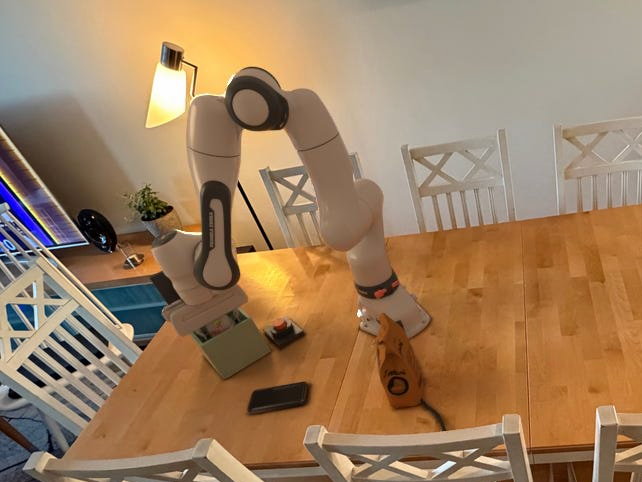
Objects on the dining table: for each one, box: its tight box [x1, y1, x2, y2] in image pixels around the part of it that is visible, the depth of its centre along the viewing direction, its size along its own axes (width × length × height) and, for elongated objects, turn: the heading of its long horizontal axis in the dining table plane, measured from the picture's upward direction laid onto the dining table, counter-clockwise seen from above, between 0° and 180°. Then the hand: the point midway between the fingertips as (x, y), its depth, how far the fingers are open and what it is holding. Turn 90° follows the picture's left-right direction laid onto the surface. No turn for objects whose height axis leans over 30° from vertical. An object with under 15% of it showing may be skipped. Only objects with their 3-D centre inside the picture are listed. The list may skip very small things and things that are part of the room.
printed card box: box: [205, 314, 237, 339], centre depth 142 cm, size 4×7×10 cm, turn 97°
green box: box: [188, 306, 272, 380], centre depth 146 cm, size 16×15×13 cm
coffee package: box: [375, 313, 425, 409], centre depth 122 cm, size 10×12×22 cm
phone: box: [246, 381, 309, 415], centre depth 133 cm, size 8×1×15 cm
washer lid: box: [148, 270, 181, 305], centre depth 140 cm, size 17×15×4 cm
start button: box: [272, 318, 287, 330], centre depth 151 cm, size 4×4×2 cm
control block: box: [262, 316, 305, 350], centre depth 153 cm, size 11×8×4 cm
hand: (222, 329), depth 142 cm, fingers closed on printed card box, 7 cm apart
